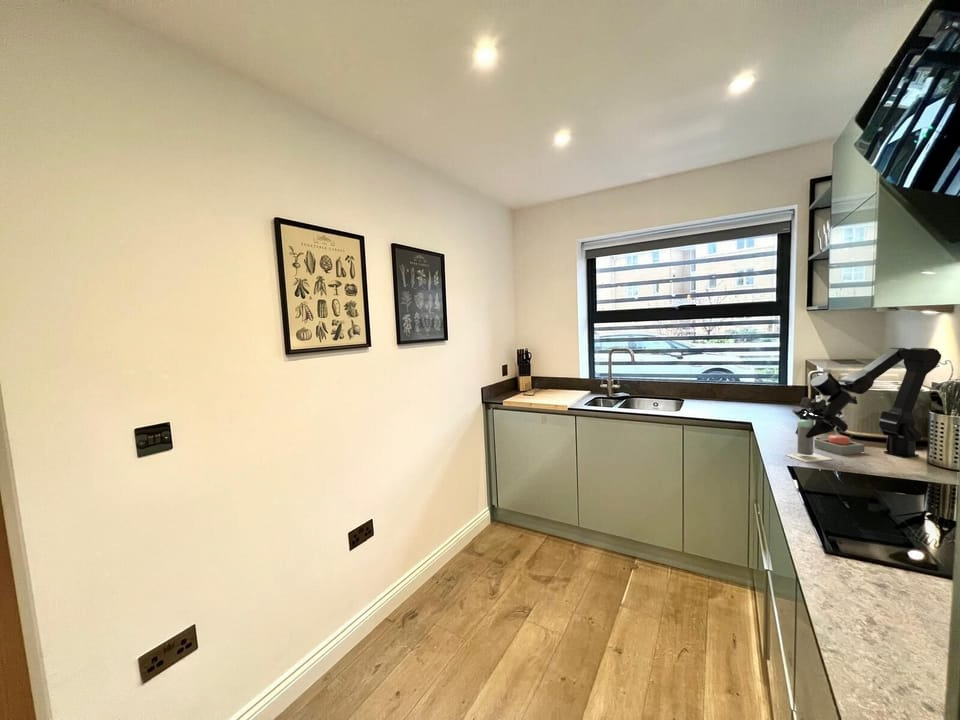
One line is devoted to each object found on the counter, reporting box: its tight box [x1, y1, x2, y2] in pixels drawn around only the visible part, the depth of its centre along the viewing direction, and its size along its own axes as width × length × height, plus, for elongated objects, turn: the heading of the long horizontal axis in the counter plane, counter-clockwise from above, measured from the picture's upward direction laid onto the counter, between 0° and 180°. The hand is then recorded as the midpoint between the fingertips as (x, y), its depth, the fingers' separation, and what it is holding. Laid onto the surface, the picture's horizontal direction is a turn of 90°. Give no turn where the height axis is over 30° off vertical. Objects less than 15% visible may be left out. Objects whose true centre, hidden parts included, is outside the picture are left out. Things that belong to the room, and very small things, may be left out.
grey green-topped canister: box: [796, 419, 814, 455], centre depth 144 cm, size 5×5×12 cm
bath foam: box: [813, 394, 838, 440], centre depth 165 cm, size 7×7×20 cm
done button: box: [828, 434, 851, 446], centre depth 150 cm, size 6×6×4 cm
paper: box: [786, 452, 834, 463], centre depth 144 cm, size 8×11×1 cm
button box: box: [814, 439, 865, 456], centre depth 151 cm, size 10×10×3 cm
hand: (801, 435), depth 144 cm, fingers closed on grey green-topped canister, 4 cm apart
